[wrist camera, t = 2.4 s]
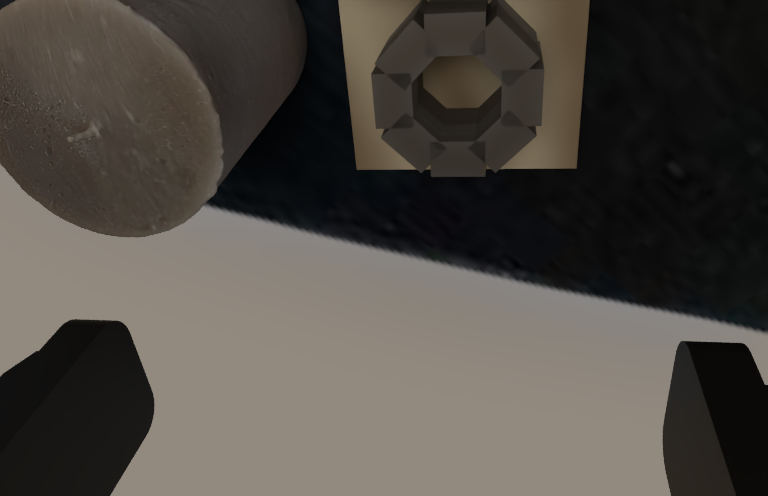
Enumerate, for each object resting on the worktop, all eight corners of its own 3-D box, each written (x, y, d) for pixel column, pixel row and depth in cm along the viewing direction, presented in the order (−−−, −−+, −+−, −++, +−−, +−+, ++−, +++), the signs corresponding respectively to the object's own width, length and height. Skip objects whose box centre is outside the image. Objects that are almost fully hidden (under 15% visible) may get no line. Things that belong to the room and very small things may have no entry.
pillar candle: (132, 89, 38) (-43, 218, 26) (139, -93, 33) (-78, -42, 21) (294, 137, 39) (197, 287, 26) (327, -37, 33) (225, 48, 21)
